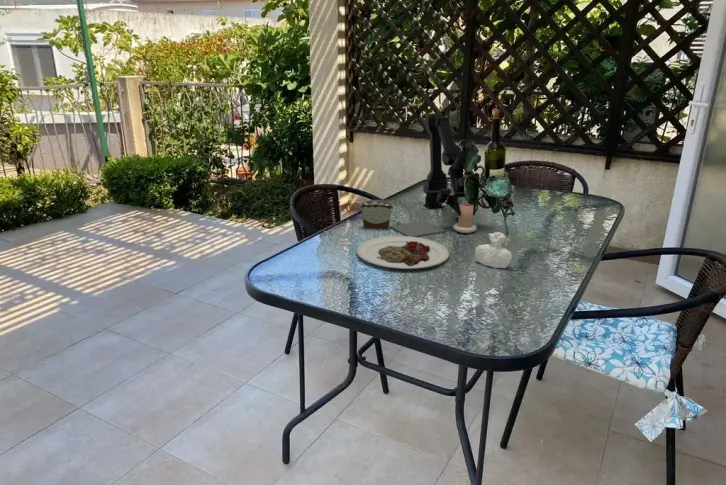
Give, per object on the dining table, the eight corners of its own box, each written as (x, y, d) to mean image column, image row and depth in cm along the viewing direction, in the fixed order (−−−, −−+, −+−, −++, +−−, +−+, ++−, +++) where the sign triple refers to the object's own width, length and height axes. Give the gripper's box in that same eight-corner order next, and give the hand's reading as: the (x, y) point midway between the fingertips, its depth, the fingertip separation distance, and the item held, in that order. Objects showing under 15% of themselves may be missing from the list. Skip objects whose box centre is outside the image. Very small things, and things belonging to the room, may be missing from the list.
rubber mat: (424, 222, 208) (424, 220, 208) (446, 231, 197) (446, 230, 197) (389, 227, 201) (389, 226, 201) (410, 238, 190) (410, 236, 189)
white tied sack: (510, 275, 164) (522, 242, 166) (504, 266, 158) (516, 233, 160) (475, 266, 171) (487, 234, 173) (467, 257, 165) (480, 225, 167)
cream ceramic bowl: (466, 226, 204) (466, 221, 203) (480, 232, 197) (481, 227, 196) (448, 229, 200) (448, 224, 199) (462, 235, 193) (463, 230, 193)
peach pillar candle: (465, 222, 201) (467, 200, 198) (474, 226, 197) (476, 203, 194) (455, 224, 199) (456, 202, 196) (463, 228, 195) (465, 205, 192)
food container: (393, 225, 204) (394, 200, 201) (392, 230, 198) (393, 204, 195) (361, 224, 205) (361, 198, 202) (359, 228, 199) (360, 203, 196)
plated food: (341, 264, 165) (341, 254, 164) (375, 236, 192) (375, 227, 191) (435, 279, 155) (436, 269, 154) (457, 247, 181) (458, 238, 180)
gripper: (441, 167, 193) (450, 205, 186) (488, 166, 196) (499, 202, 190) (432, 184, 203) (440, 220, 196) (478, 182, 206) (487, 217, 200)
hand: (467, 214), depth 195 cm, fingers closed on peach pillar candle, 5 cm apart
